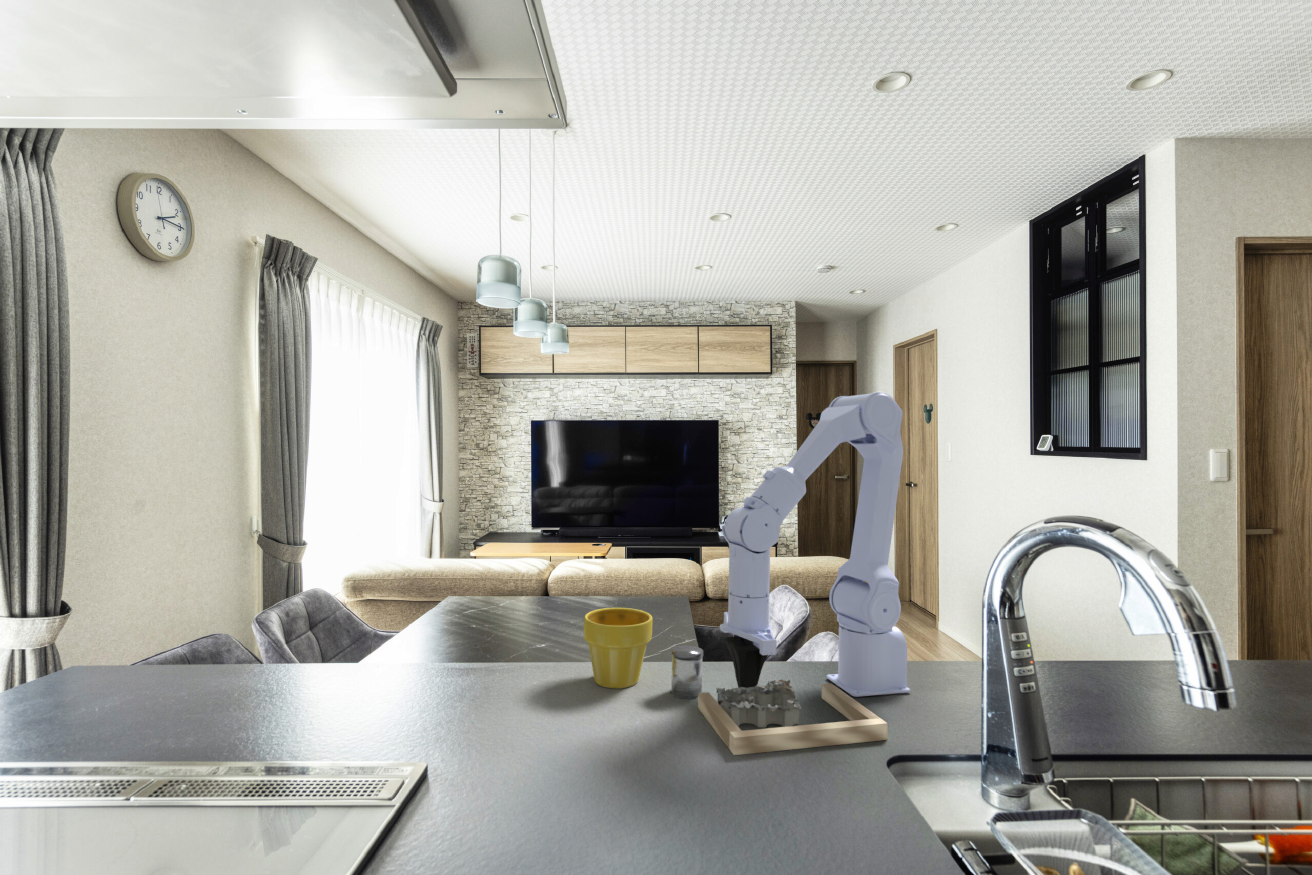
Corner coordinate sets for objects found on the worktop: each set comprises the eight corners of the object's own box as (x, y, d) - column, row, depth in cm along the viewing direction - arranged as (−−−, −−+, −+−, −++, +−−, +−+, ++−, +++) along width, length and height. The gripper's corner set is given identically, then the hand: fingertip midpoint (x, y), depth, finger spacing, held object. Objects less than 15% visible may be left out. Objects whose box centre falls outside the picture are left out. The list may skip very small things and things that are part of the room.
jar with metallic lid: (696, 685, 93) (697, 644, 93) (706, 697, 89) (707, 654, 89) (667, 687, 92) (667, 646, 92) (675, 700, 88) (676, 656, 88)
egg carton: (792, 708, 86) (793, 678, 87) (802, 733, 79) (803, 700, 79) (715, 704, 87) (716, 675, 87) (718, 728, 80) (718, 696, 80)
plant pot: (650, 695, 89) (651, 626, 90) (577, 692, 90) (579, 624, 90) (652, 669, 100) (653, 607, 100) (587, 667, 100) (588, 606, 100)
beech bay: (831, 697, 90) (831, 683, 90) (887, 739, 77) (887, 723, 77) (698, 707, 85) (698, 693, 85) (733, 755, 72) (734, 737, 72)
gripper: (705, 583, 94) (703, 674, 94) (741, 607, 80) (739, 714, 80) (749, 582, 96) (747, 671, 96) (791, 605, 82) (790, 709, 82)
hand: (747, 690), depth 88 cm, fingers closed
